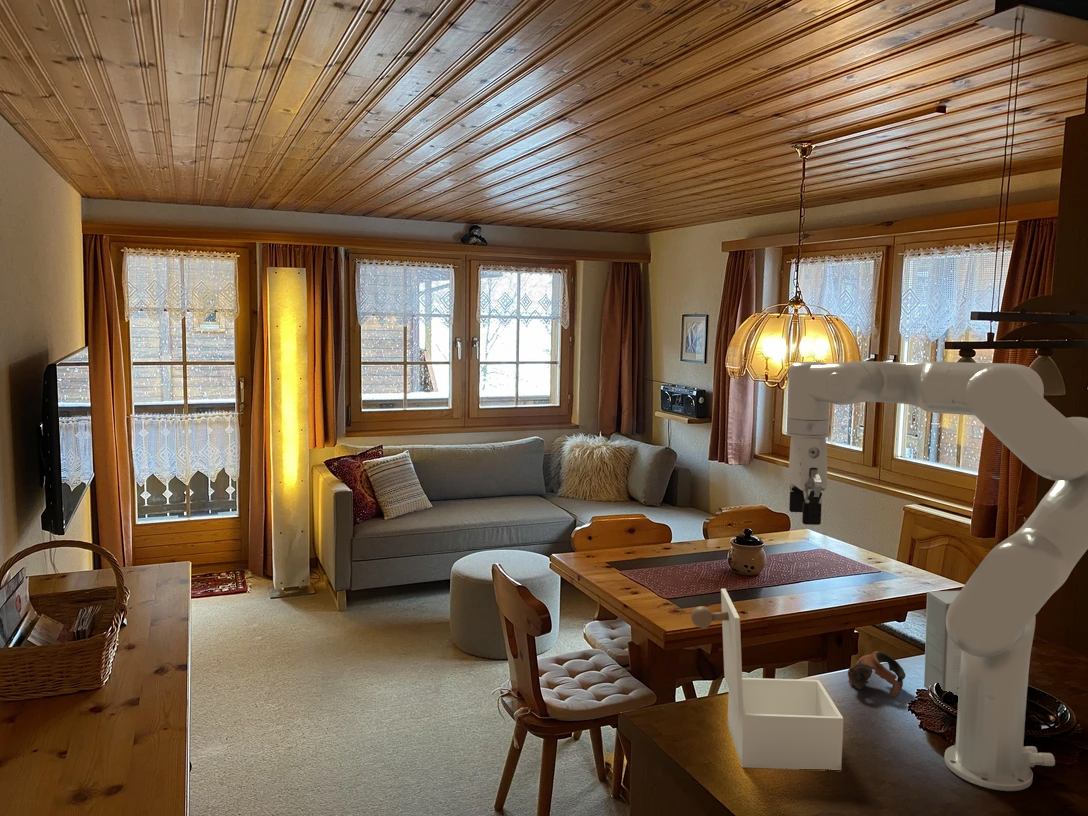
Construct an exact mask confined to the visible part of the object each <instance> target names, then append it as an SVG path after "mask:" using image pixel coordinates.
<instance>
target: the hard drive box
mask: <svg viewBox="0 0 1088 816" xmlns="http://www.w3.org/2000/svg"><path fill="white" fill-rule="evenodd" d="M960 591H961V590H940V591H939V590H936V591H933V590H931V591H926V610H925V611H926V615H925V616H926V618H925V641H924V642H925V646H924V647H925V649H924V650H925V651H924V674H923V675H924V677H923V687H925V688H926V689H927V688H929V686H930V685H932V684H933V683H939V685H940V687H941V689H942V690H943V691H947V692H949V691H950V692H952V693H953V694H954V695H957V696H959V678H960V665H961V654H962V650H961V649H959V648H958V647H957V646H956V645H955V644H954V643H953V641H952V640H951V638H950V636H949V634H948V631H947V628H946V614H947V611H948V608H949V606H950V605H951V603H952V602H953V600H954V599H955V598H956V596H957V595H958V594H959V592H960Z"/></svg>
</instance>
